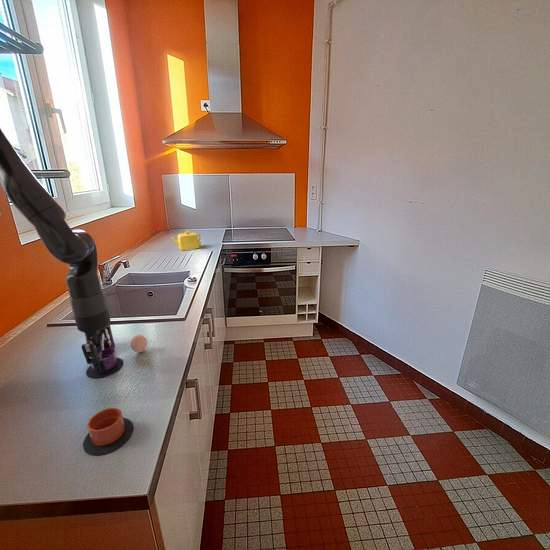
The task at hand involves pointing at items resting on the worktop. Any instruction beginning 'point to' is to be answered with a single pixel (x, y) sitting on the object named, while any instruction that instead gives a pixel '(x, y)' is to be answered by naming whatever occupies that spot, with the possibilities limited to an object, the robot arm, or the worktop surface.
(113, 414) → the clay dish
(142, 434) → the worktop surface
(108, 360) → the plum dish
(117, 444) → the front coaster
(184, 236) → the teapot
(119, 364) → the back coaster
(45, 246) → the robot arm
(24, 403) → the worktop surface
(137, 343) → the egg
